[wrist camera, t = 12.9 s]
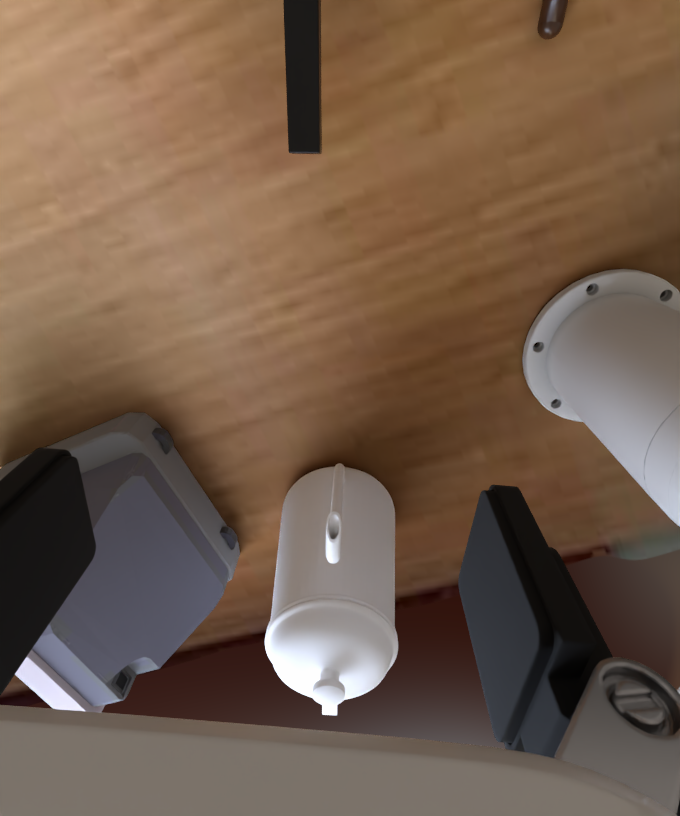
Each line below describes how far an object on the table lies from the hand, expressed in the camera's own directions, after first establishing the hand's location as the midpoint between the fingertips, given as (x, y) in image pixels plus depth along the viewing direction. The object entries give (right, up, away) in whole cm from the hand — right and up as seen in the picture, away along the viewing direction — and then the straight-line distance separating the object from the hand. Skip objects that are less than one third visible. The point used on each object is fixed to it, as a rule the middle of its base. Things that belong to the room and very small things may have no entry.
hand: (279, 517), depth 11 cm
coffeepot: (+1, -7, +35) cm, 36 cm away
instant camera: (-20, -8, +37) cm, 43 cm away
